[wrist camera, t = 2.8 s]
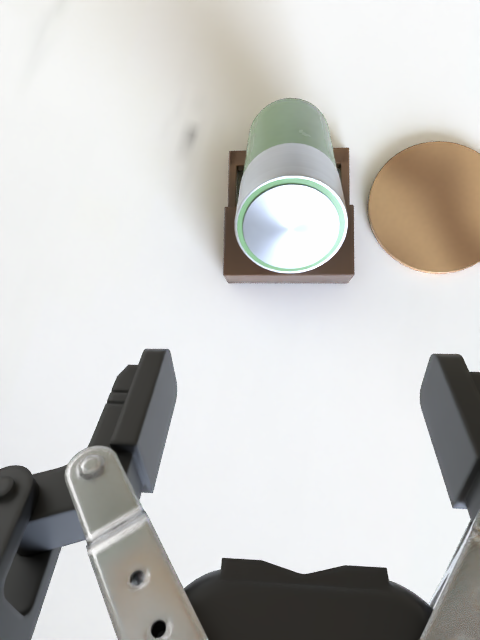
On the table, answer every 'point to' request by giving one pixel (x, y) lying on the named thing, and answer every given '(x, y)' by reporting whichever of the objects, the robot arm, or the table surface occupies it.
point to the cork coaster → (429, 207)
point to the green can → (290, 190)
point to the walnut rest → (247, 271)
